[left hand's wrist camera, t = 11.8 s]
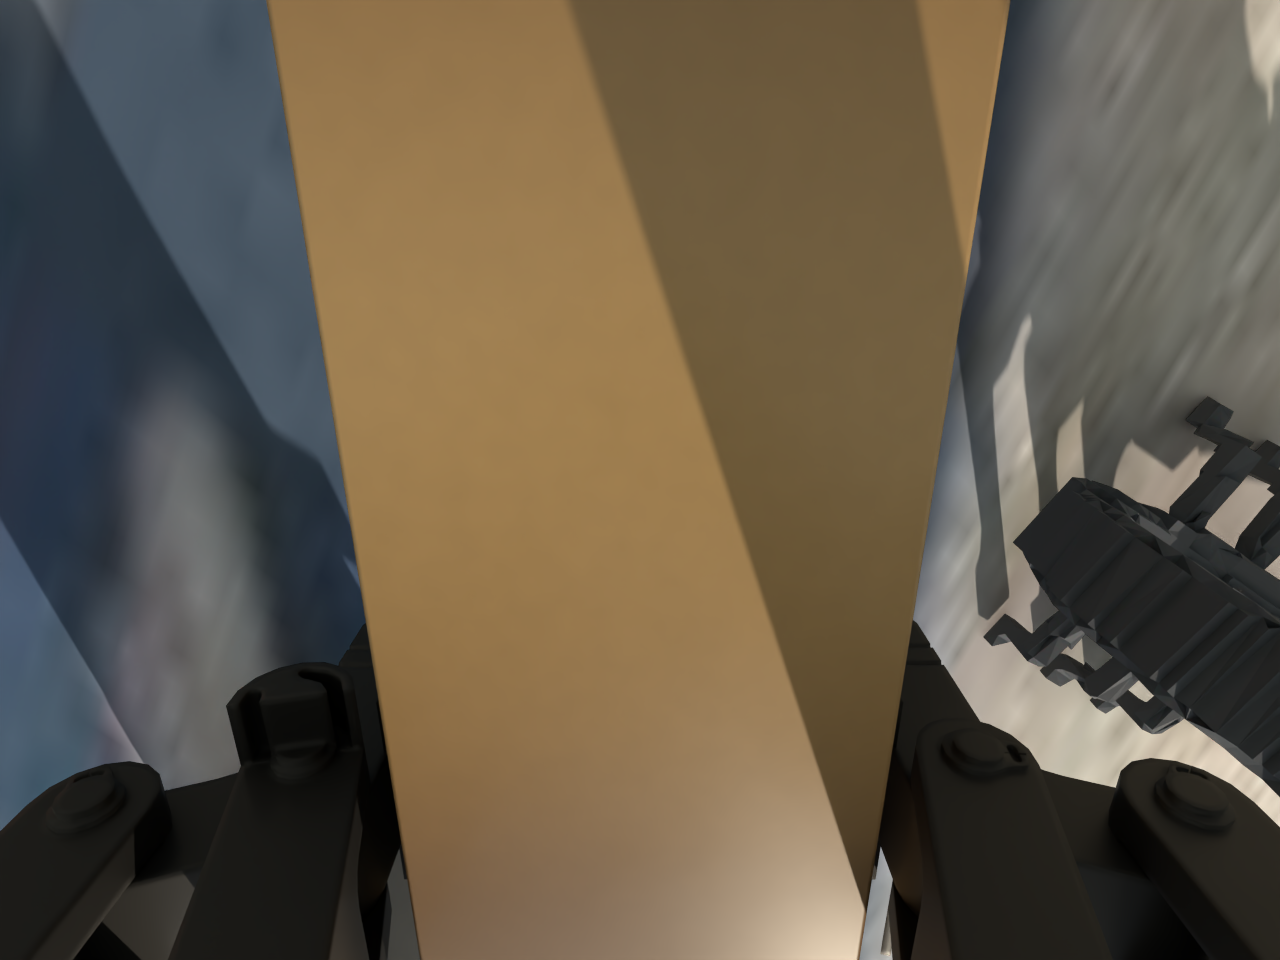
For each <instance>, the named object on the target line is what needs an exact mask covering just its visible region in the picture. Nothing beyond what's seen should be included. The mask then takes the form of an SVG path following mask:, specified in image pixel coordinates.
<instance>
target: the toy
mask: <svg viewBox="0 0 1280 960" xmlns="http://www.w3.org/2000/svg"><path fill="white" fill-rule="evenodd" d="M1233 412H1234V411H1232V410H1230V409H1228V408H1227V407H1225V406H1223V405H1221V404H1220V403H1218V402H1216V401H1215V400H1213V399H1211V398H1210V397H1208V396H1207V398H1206V399H1205V400H1204V401H1203V402H1202V403H1201V404H1200V405H1199V406H1198V407H1197V408H1196V409H1195V410H1194V411H1193V413H1192V414H1191V415H1190V416H1189V417H1188V418H1187V419H1186V420H1187V421H1188V422H1189V423H1191V424H1192V425H1194V426H1195V427H1196V428H1197V429H1196V431H1195V433H1194V434H1195V435H1198V436H1200V437H1203V438H1205V439H1207V440H1209V441H1211V442H1213V443H1215V444H1217V445H1218V446H1217V447H1216V449H1215V450H1214V451H1215V453H1214V454H1213V456H1212V457H1211V458H1210V459H1209V460H1208V461H1207V463H1206V464H1205V465H1204V466H1203V467H1202V468H1201V470H1200V475H1199V477H1198V478H1197V479H1196V480H1195V481H1194V482H1193V483H1192V484H1191V485H1190V486H1189V487H1188V489H1187V490H1186V491H1185V492H1184V493H1183V494H1182V495H1181V496H1180V497H1179V498H1178V499H1177V500H1176V501H1175V502H1174V503H1173V504H1172V505H1171V506H1170V510H1169V514H1168V513H1166V512H1165V511H1163V510H1161V509H1158V508H1156V507H1152V506H1149V505H1145V504H1141V503H1138V502H1136V501H1135V500H1133V499H1131V498H1130V497H1128V496H1127V495H1125V494H1124V493H1122V492H1121V491H1119V490H1118V489H1115V488H1112V487H1109V486H1106V485H1103V484H1100V483H1098V482H1095V481H1092V482H1091V481H1089V480H1088V479H1085V478H1075V477H1072V478H1071V479H1070V480H1069V482H1068V483H1067V484H1066V485H1065V486H1064V487H1063V488H1062V489H1061V490H1060V491H1059V492H1058V494H1057V495H1056V496H1055V497H1054V498H1053V499H1052V500H1051V501H1050V502H1049V503H1048V504H1047V506H1046V507H1045V508H1044V509H1043V510H1042V511H1041V512H1040V513H1039V514H1038V515H1037V517H1036V518H1035V519H1034V520H1033V521H1032V522H1031V523H1030V524H1029V525H1028V526H1027V527H1026V529H1025V530H1024V531H1023V532H1022V533H1021V534H1020V535H1019V536H1018V537H1017V538H1016V539H1015V541H1014V542H1013V543H1014V544H1015V545H1016V546H1017V547H1019V548H1020V549H1021V550H1022V551H1023V554H1024V556H1025V558H1026V560H1027V561H1028V563H1029V565H1030V568H1031V570H1032V572H1033V574H1034V575H1035V577H1036V579H1037V581H1038V582H1039V584H1040V586H1041V587H1042V588H1043V590H1044V591H1045V592H1046V594H1047V595H1048V597H1049V598H1050V600H1051V602H1052V603H1053V605H1054V606H1055V607H1056V608H1057V609H1058V610H1059V611H1058V612H1057V613H1055V614H1054V615H1053V616H1051V617H1050V618H1049V619H1047V620H1046V621H1045V622H1044V623H1043V624H1042V625H1041V626H1040V627H1039V628H1038V629H1037V630H1036V631H1035V632H1033V633H1030V632H1029V631H1027V630H1026V629H1025V628H1024V627H1023V626H1022V625H1020V624H1019V623H1018V622H1017V621H1016V620H1015V619H1013V618H1011V617H1010V616H1008V615H1006V614H1004V615H1003V616H1002V617H1001V618H1000V619H999V621H998V622H997V623H996V624H995V625H994V626H993V627H992V628H991V629H990V630H989V631H988V632H987V633H986V634H985V636H984V638H985V639H986V640H987V641H988V642H989V643H990V644H991V646H995V645H999V644H1003V643H1007V642H1010V641H1011V642H1012V643H1013V644H1014V645H1015V647H1016V648H1017V649H1018V650H1019V651H1020V653H1021V654H1022V655H1023V656H1024V658H1025V659H1026V660H1027V661H1028V662H1030V663H1033V664H1035V665H1037V666H1044V667H1043V668H1042V669H1041V670H1040V671H1041V673H1042V674H1043V675H1044V676H1045V677H1046V678H1047V679H1048V680H1050V681H1052V682H1053V683H1055V684H1057V685H1058V686H1062V685H1064V684H1066V683H1067V682H1069V681H1071V680H1073V679H1076V680H1077V681H1078V683H1079V684H1080V686H1081V687H1082V688H1083V690H1084V691H1085V692H1086V693H1087V694H1088V695H1090V696H1091V697H1092V699H1091V700H1090V701H1091V702H1092V703H1093V705H1094V706H1095V707H1096V708H1097V709H1099V710H1101V711H1102V712H1104V713H1107V712H1109V711H1111V710H1112V709H1114V708H1115V707H1117V706H1121V707H1122V708H1123V709H1124V711H1125V712H1126V713H1127V714H1128V715H1129V716H1130V717H1131V718H1132V719H1133V720H1134V721H1135V722H1136V723H1137V725H1138V726H1139V727H1140V728H1141V729H1142V730H1144V731H1147V732H1149V733H1151V734H1160V733H1163V732H1164V731H1166V730H1168V729H1169V728H1171V727H1172V726H1174V725H1176V724H1177V723H1179V722H1180V721H1182V720H1183V719H1186V720H1187V721H1188V722H1190V723H1191V724H1192V725H1194V726H1195V727H1196V728H1198V729H1199V730H1200V731H1202V732H1203V733H1204V734H1206V735H1207V736H1208V737H1210V738H1211V739H1213V740H1214V741H1215V742H1217V743H1218V744H1219V745H1221V746H1222V747H1223V748H1225V749H1226V750H1227V751H1228V752H1229V753H1230V754H1231V755H1232V756H1234V757H1235V758H1236V759H1237V760H1238V761H1239V762H1240V763H1241V764H1243V765H1244V766H1245V767H1247V768H1248V769H1249V770H1251V771H1252V772H1253V773H1255V774H1256V775H1257V776H1259V777H1260V778H1261V779H1262V780H1263V781H1264V782H1265V783H1266V784H1267V785H1268V786H1269V787H1270V788H1271V789H1272V790H1273V791H1274V792H1275V793H1276V794H1277V795H1278V796H1279V797H1280V580H1279V579H1277V578H1276V577H1274V576H1273V575H1271V574H1270V573H1268V572H1267V571H1265V569H1266V568H1267V567H1268V566H1269V565H1270V564H1271V563H1272V562H1273V561H1274V560H1275V559H1276V558H1277V557H1278V556H1279V555H1280V470H1279V467H1280V446H1278V445H1276V444H1274V443H1272V442H1270V441H1268V440H1266V441H1265V442H1264V444H1263V445H1262V446H1261V447H1260V448H1259V449H1258V450H1257V451H1256V452H1254V451H1253V450H1252V449H1250V448H1249V447H1250V446H1251V445H1252V444H1253V443H1254V442H1252V441H1250V440H1248V439H1246V438H1243V437H1241V436H1239V435H1237V434H1235V433H1232V432H1230V431H1228V430H1225V429H1224V427H1225V426H1226V424H1227V423H1228V421H1229V420H1230V418H1231V416H1232V414H1233ZM1247 475H1250V476H1252V477H1254V478H1257V479H1259V480H1261V481H1263V482H1265V483H1267V484H1269V485H1271V486H1270V487H1269V488H1268V489H1267V490H1269V491H1270V492H1271V493H1273V494H1274V496H1273V497H1272V498H1271V499H1270V500H1269V501H1268V502H1267V503H1266V505H1265V506H1264V507H1263V508H1262V509H1261V511H1260V512H1259V513H1258V514H1257V515H1256V517H1255V518H1254V519H1253V520H1252V521H1251V523H1250V524H1249V525H1248V526H1247V528H1246V529H1245V530H1244V531H1243V532H1242V534H1241V535H1240V536H1239V539H1238V542H1237V544H1236V547H1235V549H1234V548H1233V547H1231V546H1230V545H1228V544H1227V543H1226V542H1224V541H1223V540H1221V539H1220V538H1218V537H1217V536H1215V535H1214V534H1212V533H1211V532H1209V531H1208V530H1207V529H1205V526H1206V524H1207V522H1208V520H1209V519H1210V518H1211V516H1212V515H1213V514H1214V513H1215V512H1216V511H1217V510H1218V509H1219V507H1220V506H1221V505H1222V504H1223V503H1224V502H1225V501H1226V500H1227V498H1228V497H1229V496H1230V495H1231V494H1232V493H1233V492H1234V491H1235V490H1236V488H1237V487H1238V486H1239V485H1240V484H1241V483H1242V481H1243V480H1244V479H1245V478H1246V477H1247ZM1085 634H1086V635H1087V636H1089V637H1090V638H1091V639H1092V640H1093V641H1094V642H1096V643H1097V644H1098V645H1099V646H1101V647H1102V648H1103V649H1104V650H1106V651H1107V652H1108V653H1109V654H1111V655H1112V656H1113V657H1112V658H1111V659H1110V660H1109V661H1108V662H1107V663H1105V664H1104V665H1103V666H1102V667H1101V668H1100V669H1098V670H1097V671H1095V670H1094V669H1093V668H1092V667H1091V666H1090V665H1088V664H1087V663H1086V662H1085V664H1084V665H1083V664H1082V663H1080V662H1078V661H1077V660H1075V659H1073V658H1071V657H1070V656H1068V655H1066V654H1061V652H1062V651H1063V650H1064V649H1065V648H1066V647H1067V646H1068V647H1069V648H1070V649H1072V648H1073V647H1074V646H1075V645H1076V644H1077V643H1078V642H1079V641H1080V639H1081V638H1082V637H1083V636H1084V635H1085ZM1138 680H1139V681H1140V682H1141V683H1142V684H1143V685H1144V686H1145V687H1146V688H1147V689H1148V690H1149V691H1150V692H1151V693H1152V694H1153V695H1154V697H1152V698H1151V699H1150V700H1149V701H1148V702H1144V701H1142V700H1141V699H1139V698H1137V697H1136V696H1135V695H1134V694H1133V693H1131V692H1130V691H1129V690H1128V689H1129V688H1130V687H1132V686H1133V685H1134V684H1135V683H1136V682H1137V681H1138Z"/></svg>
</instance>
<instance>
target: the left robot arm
mask: <svg viewBox="0 0 1280 960" xmlns="http://www.w3.org/2000/svg"><path fill="white" fill-rule="evenodd" d="M226 707H227V711H228V715H229V719H230V723H231V727H232V731H233V735H234V739H235V743H236V747H237V751H238V755H239V759H240V763H241V767H240V770H239V772H238V773H236V774H232V775H229V776H225V777H222V778H219V779H215V780H210V781H206V782H202V783H197V784H193V785H188V786H184V787H179V788H175V789H171V790H166V791H164V788H163V784H162V781H161V778H160V774H159V773H158V772H156V771H155V770H154V769H153V768H152V767H151V766H149V765H147V764H142V763H136V762H131V761H128V762H119V763H111V764H104V765H101V766H98V767H94V768H91V769H88V770H85V771H82V772H79V773H76V774H74V775H72V776H71V777H69V778H67V779H65V780H63V781H61V782H59V783H57V784H55V785H53V786H51V787H50V788H48V789H47V790H46V791H44V792H43V793H42V794H41V795H39V796H38V797H37V798H35V799H34V800H33V801H32V802H30V803H29V804H28V805H27V806H26V807H25V808H23V809H22V810H21V811H20V812H19V813H18V814H17V815H16V816H15V817H14V818H13V819H12V820H11V821H10V822H9V823H8V824H7V825H6V826H5V827H4V828H3V829H2V830H1V831H0V960H420V956H419V950H418V944H417V937H416V931H415V925H414V919H413V912H412V906H411V900H410V894H409V887H408V881H407V875H406V869H405V862H404V856H403V850H402V844H401V837H400V831H399V825H398V819H397V813H396V806H395V800H394V794H393V788H392V781H391V775H390V769H389V763H388V756H387V750H386V744H385V738H384V731H383V725H382V719H381V713H380V706H379V700H378V694H377V688H376V681H375V675H374V669H373V663H372V656H371V650H370V644H369V638H368V632H367V625H366V624H364V625H363V626H362V628H361V629H360V631H359V632H358V634H357V636H356V637H355V639H354V640H353V642H352V643H351V645H350V650H347V651H346V653H345V654H344V656H343V658H342V659H341V661H340V662H339V666H337V665H333V664H329V663H326V662H311V663H299V664H294V665H290V666H286V667H281V668H278V669H275V670H273V671H271V672H268V673H266V674H264V675H261V676H259V677H257V678H255V679H254V680H252V681H251V682H249V683H248V684H247V685H245V686H244V687H242V688H241V689H240V690H238V691H237V692H236V694H235V695H234V696H233V698H232V699H231V700H230V702H229V703H228V704H227V705H226ZM880 847H881V848H882V851H883V854H884V856H885V859H886V862H887V864H888V867H889V870H890V873H891V875H892V878H893V882H892V888H891V894H890V900H889V905H888V911H887V917H886V923H885V929H884V935H883V941H882V948H881V954H883V955H888V956H890V953H891V948H892V957H893V960H1280V827H1279V826H1278V825H1277V824H1276V823H1275V822H1274V821H1273V820H1272V819H1271V818H1270V817H1269V816H1268V815H1267V814H1266V813H1265V812H1264V811H1263V810H1262V809H1261V808H1260V807H1258V806H1257V805H1256V804H1255V803H1254V802H1253V801H1252V800H1251V799H1249V798H1248V797H1247V796H1245V795H1244V794H1243V793H1242V792H1240V791H1239V790H1238V789H1237V788H1235V787H1234V786H1233V785H1231V784H1230V783H1228V782H1226V781H1224V780H1222V779H1220V778H1218V777H1216V776H1214V775H1212V774H1210V773H1208V772H1207V771H1205V770H1202V769H1199V768H1196V767H1193V766H1190V765H1187V764H1183V763H1180V762H1177V761H1171V760H1163V759H1154V758H1149V759H1143V760H1138V761H1132V762H1131V763H1130V764H1128V765H1127V766H1126V767H1125V768H1124V769H1123V770H1121V772H1120V776H1119V779H1118V782H1117V786H1116V788H1114V787H1109V786H1105V785H1101V784H1096V783H1092V782H1087V781H1083V780H1078V779H1074V778H1070V777H1065V776H1061V775H1058V774H1054V773H1051V772H1048V771H1044V770H1042V769H1040V766H1039V764H1038V763H1037V761H1036V760H1035V758H1034V757H1033V755H1032V753H1031V752H1030V750H1029V749H1028V748H1027V747H1025V746H1024V745H1023V744H1022V743H1021V742H1019V741H1018V740H1017V739H1016V738H1014V737H1013V736H1012V735H1010V734H1008V733H1006V732H1004V731H1002V730H1000V729H998V728H996V727H994V726H992V725H990V724H986V723H982V722H980V721H979V719H978V717H977V716H976V714H975V713H974V711H973V710H972V708H971V707H970V705H969V703H968V702H967V700H966V699H965V697H964V696H963V694H962V693H961V691H960V689H959V688H958V686H957V685H956V683H955V682H954V680H953V679H952V677H951V675H950V674H949V672H948V671H947V669H946V668H945V666H944V665H941V660H940V658H939V657H938V655H937V654H936V652H935V650H934V649H933V648H930V643H929V641H928V640H927V638H926V636H925V635H924V633H923V632H922V630H921V629H920V627H919V625H918V624H917V623H916V622H915V621H912V627H911V634H910V640H909V646H908V653H907V659H906V665H905V672H904V678H903V685H902V691H901V697H900V704H899V710H898V716H897V723H896V729H895V735H894V742H893V748H892V754H891V761H890V767H889V773H888V780H887V786H886V792H885V799H884V805H883V811H882V818H881V824H880V830H879V837H878V843H877V849H876V856H875V862H874V868H873V875H872V879H875V878H876V872H877V866H878V859H879V853H880Z"/></svg>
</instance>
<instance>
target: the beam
mask: <svg viewBox="0 0 1280 960" xmlns="http://www.w3.org/2000/svg"><path fill="white" fill-rule="evenodd" d="M266 1H267V7H268V14H269V20H270V26H271V32H272V39H273V45H274V51H275V57H276V64H277V70H278V76H279V82H280V89H281V95H282V101H283V107H284V114H285V120H286V126H287V132H288V138H289V145H290V151H291V157H292V163H293V170H294V176H295V182H296V188H297V195H298V201H299V207H300V213H301V220H302V226H303V232H304V238H305V245H306V251H307V257H308V263H309V270H310V276H311V282H312V288H313V295H314V301H315V307H316V313H317V319H318V326H319V332H320V338H321V344H322V351H323V357H324V363H325V369H326V376H327V382H328V388H329V394H330V401H331V407H332V413H333V419H334V426H335V432H336V438H337V444H338V451H339V457H340V463H341V469H342V476H343V482H344V488H345V494H346V500H347V507H348V513H349V519H350V525H351V532H352V538H353V544H354V550H355V557H356V563H357V569H358V575H359V582H360V588H361V594H362V600H363V607H364V613H365V619H366V625H367V632H368V638H369V644H370V650H371V656H372V663H373V669H374V675H375V681H376V688H377V694H378V700H379V706H380V713H381V719H382V725H383V731H384V738H385V744H386V750H387V756H388V763H389V769H390V775H391V781H392V788H393V794H394V800H395V806H396V813H397V819H398V825H399V831H400V837H401V844H402V850H403V856H404V862H405V869H406V875H407V881H408V887H409V894H410V900H411V906H412V912H413V919H414V925H415V931H416V937H417V944H418V950H419V956H420V960H859V957H860V951H861V945H862V938H863V932H864V926H865V919H866V913H867V907H868V900H869V894H870V887H871V881H872V875H873V868H874V862H875V856H876V849H877V843H878V837H879V830H880V824H881V818H882V811H883V805H884V799H885V792H886V786H887V780H888V773H889V767H890V761H891V754H892V748H893V742H894V735H895V729H896V723H897V716H898V710H899V704H900V697H901V691H902V685H903V678H904V672H905V665H906V659H907V653H908V646H909V640H910V634H911V627H912V621H913V615H914V608H915V602H916V596H917V589H918V583H919V577H920V570H921V564H922V558H923V551H924V545H925V539H926V532H927V526H928V520H929V513H930V507H931V501H932V494H933V488H934V482H935V475H936V469H937V463H938V456H939V450H940V443H941V437H942V431H943V424H944V418H945V412H946V405H947V399H948V393H949V386H950V380H951V374H952V367H953V361H954V355H955V348H956V342H957V336H958V329H959V323H960V317H961V310H962V304H963V298H964V291H965V285H966V279H967V272H968V266H969V260H970V253H971V247H972V241H973V234H974V228H975V221H976V215H977V209H978V202H979V196H980V190H981V183H982V177H983V171H984V164H985V158H986V152H987V145H988V139H989V133H990V126H991V120H992V114H993V107H994V101H995V95H996V88H997V82H998V76H999V69H1000V63H1001V57H1002V50H1003V44H1004V38H1005V31H1006V25H1007V19H1008V12H1009V6H1010V0H266Z"/></svg>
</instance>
